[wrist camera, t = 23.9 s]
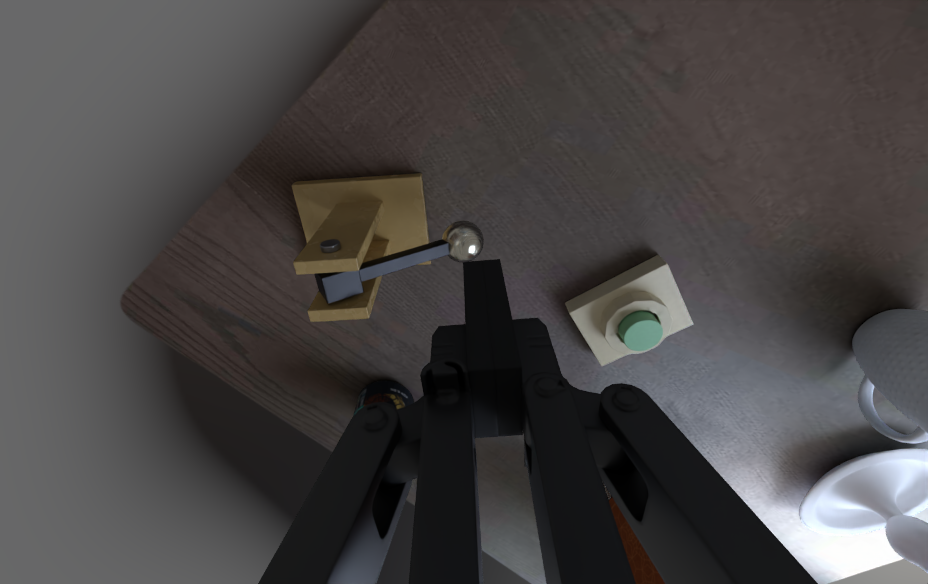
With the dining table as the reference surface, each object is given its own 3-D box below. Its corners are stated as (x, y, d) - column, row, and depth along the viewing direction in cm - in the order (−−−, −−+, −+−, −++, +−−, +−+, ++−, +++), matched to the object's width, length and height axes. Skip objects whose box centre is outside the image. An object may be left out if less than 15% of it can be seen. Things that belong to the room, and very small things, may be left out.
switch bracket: (421, 172, 39) (407, 227, 27) (431, 258, 44) (423, 337, 32) (295, 181, 40) (227, 238, 28) (318, 266, 44) (267, 346, 32)
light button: (648, 304, 43) (655, 313, 42) (661, 330, 45) (668, 340, 43) (612, 321, 44) (618, 331, 43) (626, 347, 46) (632, 357, 44)
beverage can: (425, 394, 54) (418, 477, 43) (393, 424, 56) (380, 509, 46) (379, 368, 51) (361, 449, 41) (348, 400, 54) (324, 484, 44)
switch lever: (468, 211, 37) (491, 222, 35) (470, 248, 39) (492, 261, 36) (307, 254, 31) (320, 272, 29) (319, 296, 33) (332, 316, 30)
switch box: (658, 254, 44) (675, 271, 41) (684, 313, 48) (702, 334, 45) (564, 302, 47) (573, 322, 44) (596, 354, 51) (606, 377, 48)
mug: (871, 393, 55) (978, 482, 44) (795, 384, 54) (886, 473, 43) (955, 298, 48) (1110, 376, 37) (870, 285, 47) (1002, 361, 35)
